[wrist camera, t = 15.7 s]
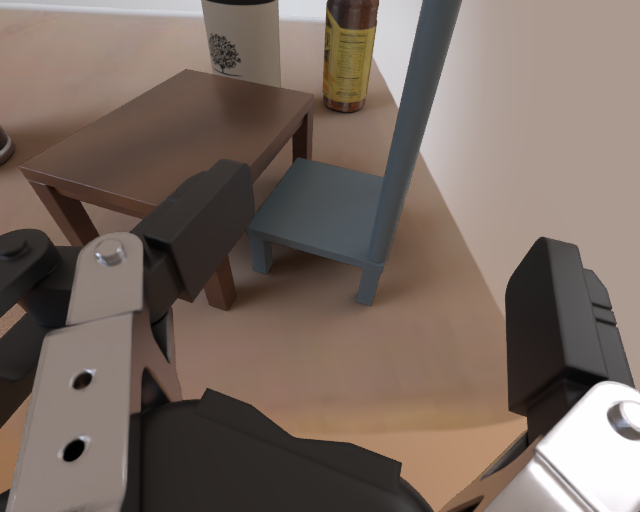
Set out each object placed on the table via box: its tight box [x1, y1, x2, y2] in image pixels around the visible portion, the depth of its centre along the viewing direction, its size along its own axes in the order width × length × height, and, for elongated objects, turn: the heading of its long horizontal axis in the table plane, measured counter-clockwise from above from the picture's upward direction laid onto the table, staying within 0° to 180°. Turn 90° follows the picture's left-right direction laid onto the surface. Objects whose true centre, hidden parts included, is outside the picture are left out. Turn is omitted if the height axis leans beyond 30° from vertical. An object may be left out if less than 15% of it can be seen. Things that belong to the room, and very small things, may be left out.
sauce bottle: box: [323, 0, 379, 112], centre depth 43 cm, size 6×6×20 cm
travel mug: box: [201, 0, 281, 88], centre depth 40 cm, size 8×8×18 cm
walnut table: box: [18, 69, 314, 311], centre depth 30 cm, size 13×18×9 cm
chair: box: [246, 0, 462, 306], centre depth 23 cm, size 10×10×21 cm
